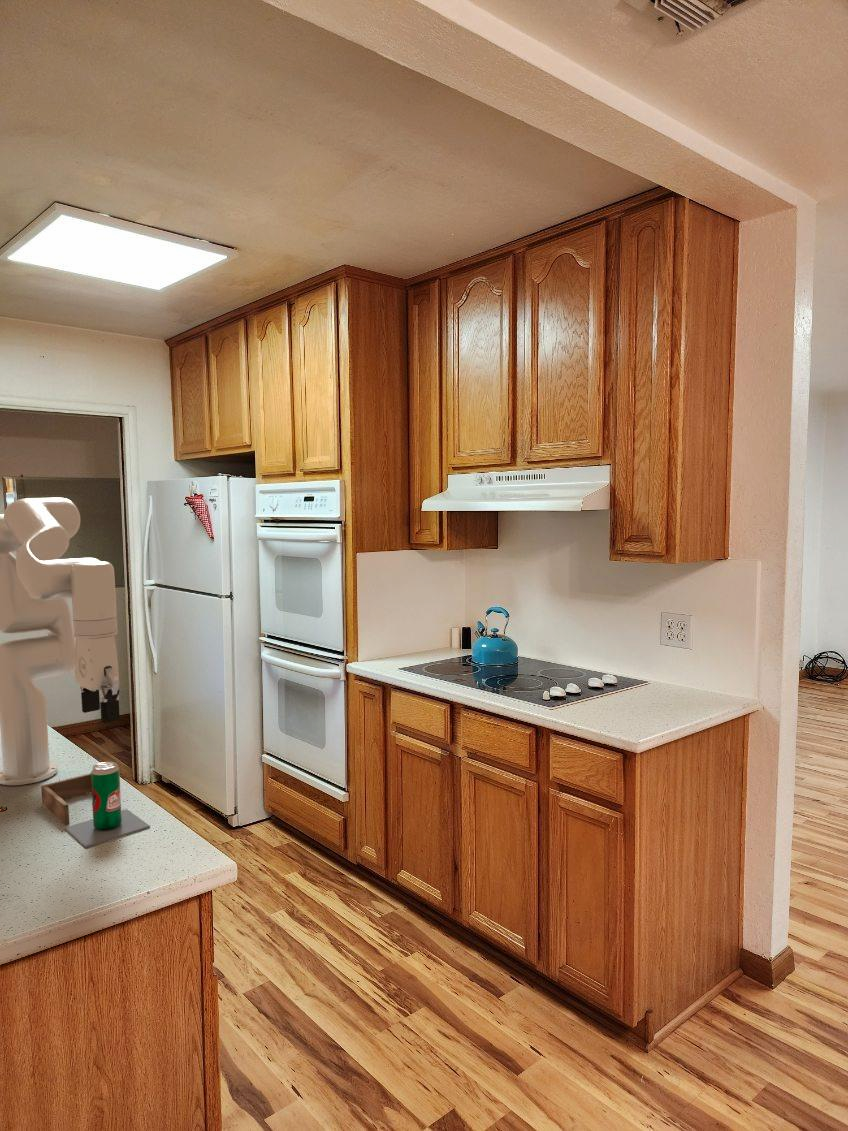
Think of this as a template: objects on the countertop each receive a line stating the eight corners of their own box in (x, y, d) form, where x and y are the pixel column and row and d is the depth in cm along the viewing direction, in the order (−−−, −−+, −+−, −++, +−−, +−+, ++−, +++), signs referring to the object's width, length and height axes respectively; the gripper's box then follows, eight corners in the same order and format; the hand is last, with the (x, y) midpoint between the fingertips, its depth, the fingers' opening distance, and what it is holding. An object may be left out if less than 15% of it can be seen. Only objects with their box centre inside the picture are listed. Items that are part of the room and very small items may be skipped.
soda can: (112, 832, 144) (109, 770, 143) (87, 831, 144) (84, 769, 143) (127, 821, 149) (124, 761, 147) (103, 819, 149) (100, 760, 148)
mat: (64, 829, 146) (64, 827, 146) (127, 810, 155) (126, 808, 154) (85, 848, 138) (85, 846, 138) (149, 827, 147) (149, 825, 146)
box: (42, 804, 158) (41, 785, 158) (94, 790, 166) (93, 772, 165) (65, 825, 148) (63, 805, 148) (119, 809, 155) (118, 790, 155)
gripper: (59, 624, 146) (64, 711, 148) (92, 636, 134) (97, 731, 136) (98, 619, 152) (103, 703, 153) (134, 630, 139) (138, 721, 141)
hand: (100, 716), depth 144 cm, fingers open, 9 cm apart
